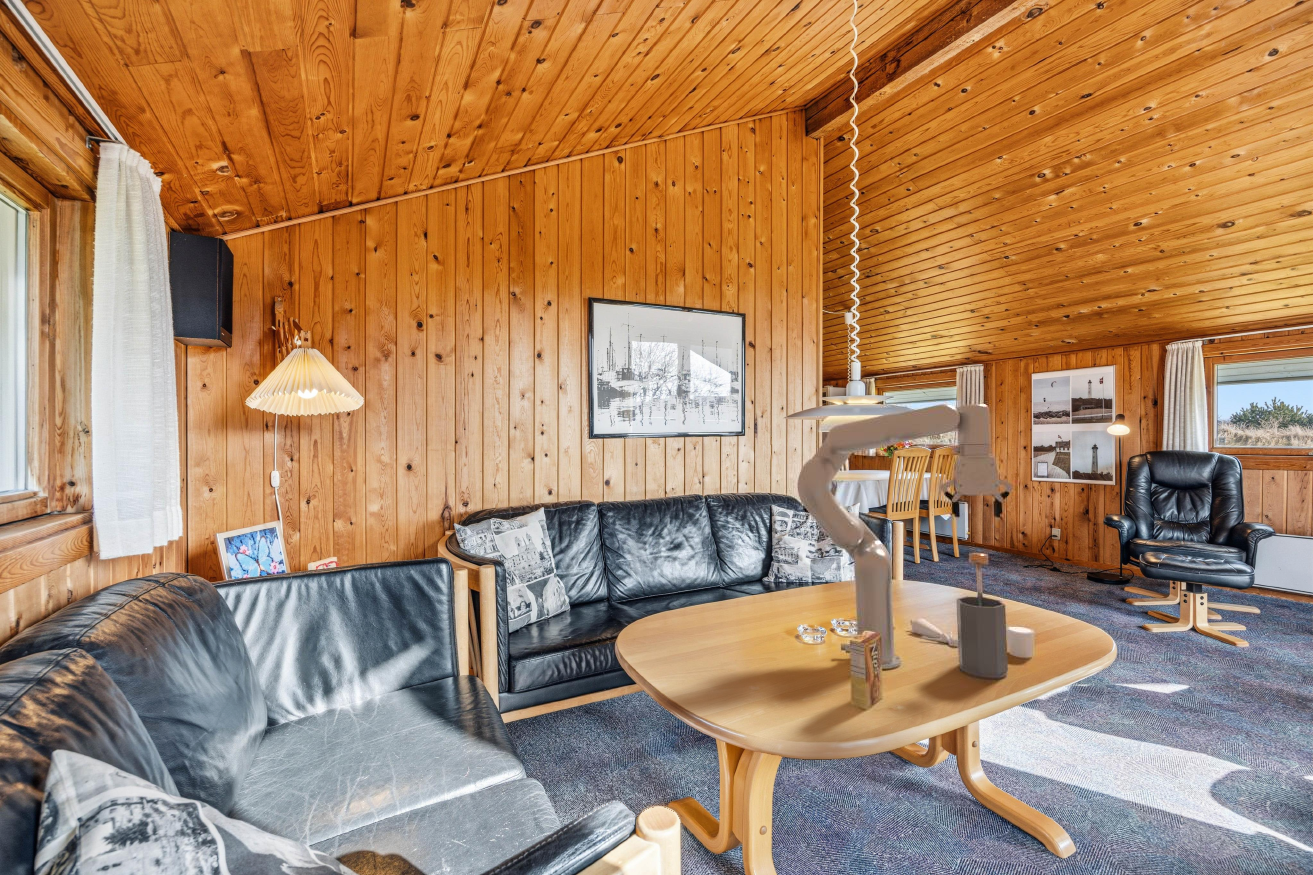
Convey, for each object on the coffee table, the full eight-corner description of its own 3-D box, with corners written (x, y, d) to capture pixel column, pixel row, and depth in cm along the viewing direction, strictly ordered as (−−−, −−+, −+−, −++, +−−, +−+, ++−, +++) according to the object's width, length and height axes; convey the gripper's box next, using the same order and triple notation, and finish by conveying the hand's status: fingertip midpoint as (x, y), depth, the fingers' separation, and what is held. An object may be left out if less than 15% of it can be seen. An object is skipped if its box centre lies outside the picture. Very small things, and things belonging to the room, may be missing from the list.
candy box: (866, 693, 142) (864, 629, 142) (884, 697, 139) (881, 632, 139) (850, 705, 135) (848, 639, 136) (868, 710, 132) (866, 642, 133)
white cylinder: (1021, 660, 159) (1020, 634, 159) (1000, 651, 166) (999, 626, 166) (1041, 656, 161) (1040, 631, 161) (1020, 648, 168) (1019, 624, 168)
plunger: (966, 622, 150) (964, 557, 150) (959, 612, 158) (957, 551, 158) (1003, 623, 148) (1001, 557, 148) (994, 614, 156) (992, 551, 156)
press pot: (964, 677, 149) (962, 606, 149) (953, 657, 163) (950, 592, 163) (1012, 680, 146) (1009, 608, 146) (996, 660, 160) (994, 594, 160)
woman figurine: (928, 613, 189) (974, 634, 172) (928, 627, 190) (974, 649, 173) (898, 618, 186) (943, 639, 169) (898, 631, 186) (942, 654, 169)
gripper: (941, 452, 152) (943, 518, 152) (1016, 450, 148) (1018, 518, 148) (935, 452, 160) (938, 514, 160) (1007, 450, 155) (1009, 515, 155)
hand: (976, 516), depth 154 cm, fingers open, 9 cm apart
